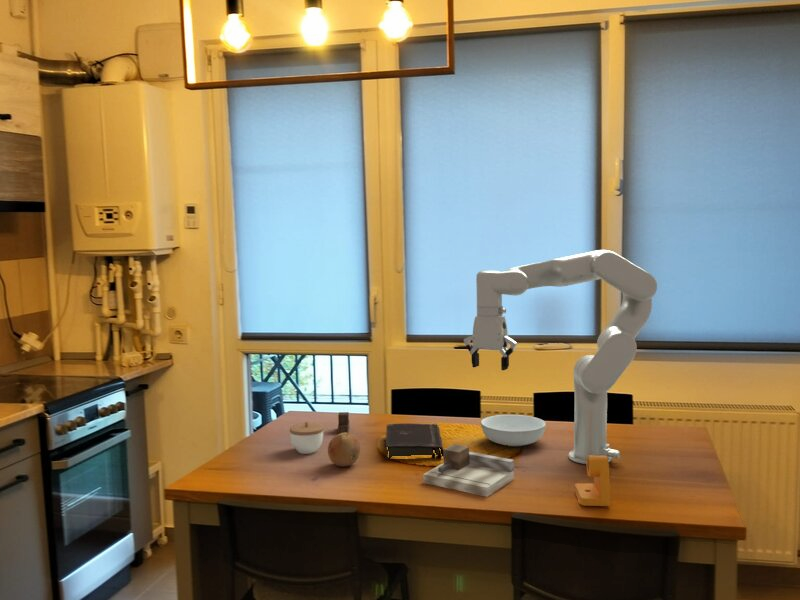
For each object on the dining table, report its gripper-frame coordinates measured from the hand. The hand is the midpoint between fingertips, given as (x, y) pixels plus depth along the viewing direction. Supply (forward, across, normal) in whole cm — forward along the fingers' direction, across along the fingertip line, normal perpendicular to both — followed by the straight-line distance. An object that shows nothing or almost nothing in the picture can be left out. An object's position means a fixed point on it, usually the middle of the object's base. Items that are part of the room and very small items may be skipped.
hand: (490, 368), depth 223 cm
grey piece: (+28, -4, +21) cm, 35 cm away
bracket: (+29, -38, +17) cm, 50 cm away
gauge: (+25, +2, +21) cm, 33 cm away
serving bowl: (+28, +1, -18) cm, 34 cm away
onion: (+28, +35, +28) cm, 53 cm away
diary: (+28, +27, +3) cm, 39 cm away
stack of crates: (+28, +56, -1) cm, 63 cm away
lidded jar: (+28, +54, +23) cm, 65 cm away
